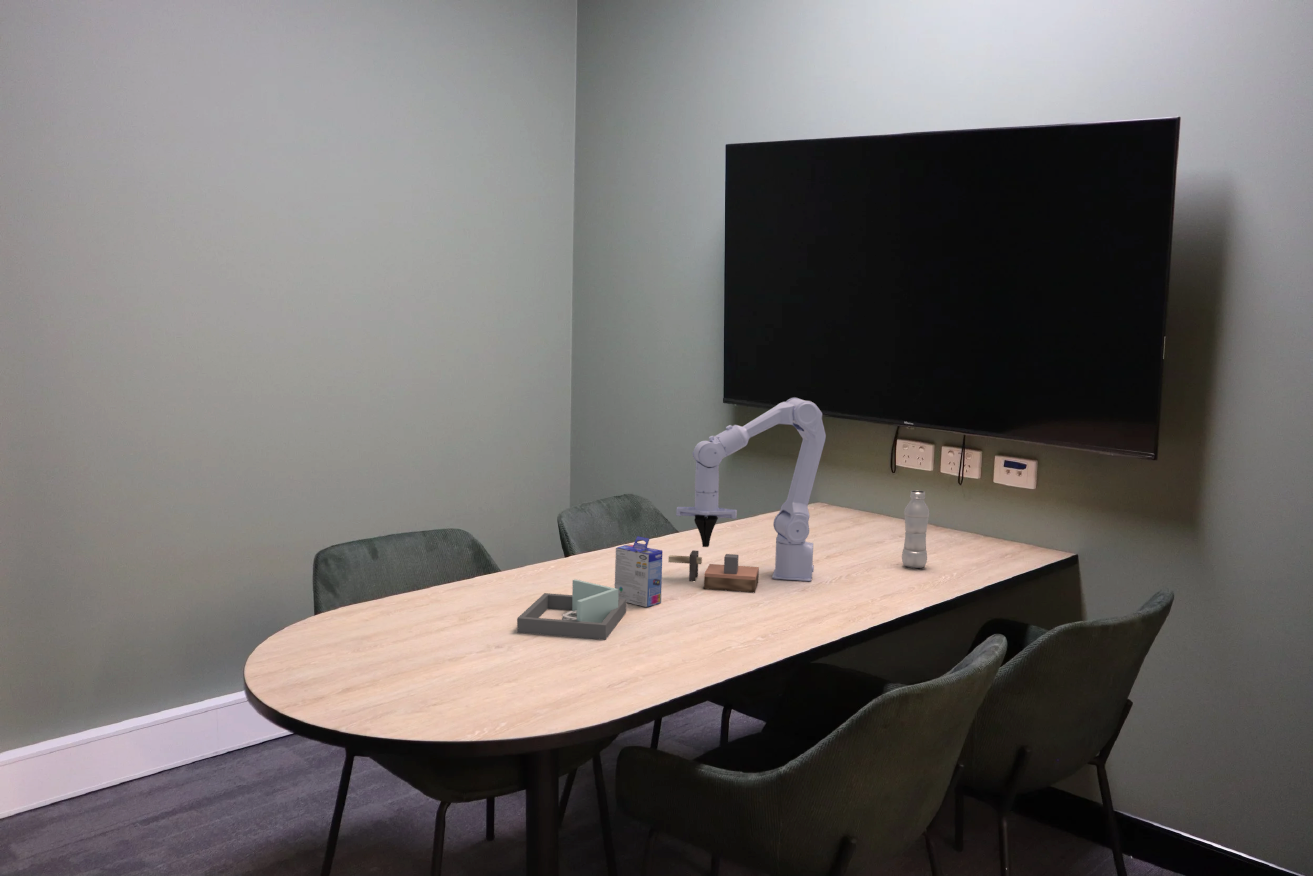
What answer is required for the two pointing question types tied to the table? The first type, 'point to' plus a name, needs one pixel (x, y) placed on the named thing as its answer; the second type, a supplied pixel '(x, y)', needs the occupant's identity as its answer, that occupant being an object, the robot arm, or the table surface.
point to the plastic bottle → (915, 531)
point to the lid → (731, 569)
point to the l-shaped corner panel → (591, 602)
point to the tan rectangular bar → (683, 559)
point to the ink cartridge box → (639, 573)
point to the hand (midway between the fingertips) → (705, 546)
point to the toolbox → (721, 579)
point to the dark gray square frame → (567, 628)
